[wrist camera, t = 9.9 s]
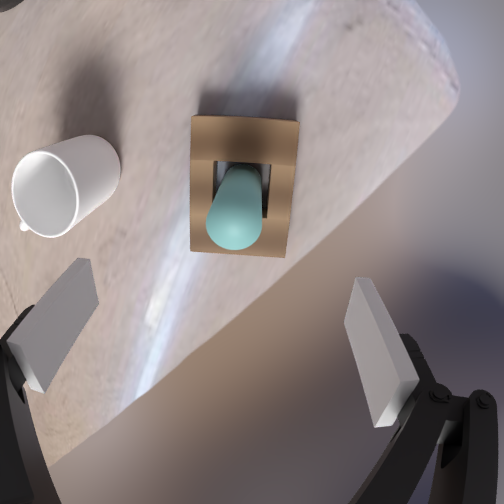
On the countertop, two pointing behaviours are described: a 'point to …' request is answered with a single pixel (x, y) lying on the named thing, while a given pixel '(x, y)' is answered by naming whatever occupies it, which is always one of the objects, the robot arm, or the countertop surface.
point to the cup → (64, 183)
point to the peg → (236, 209)
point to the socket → (251, 151)
